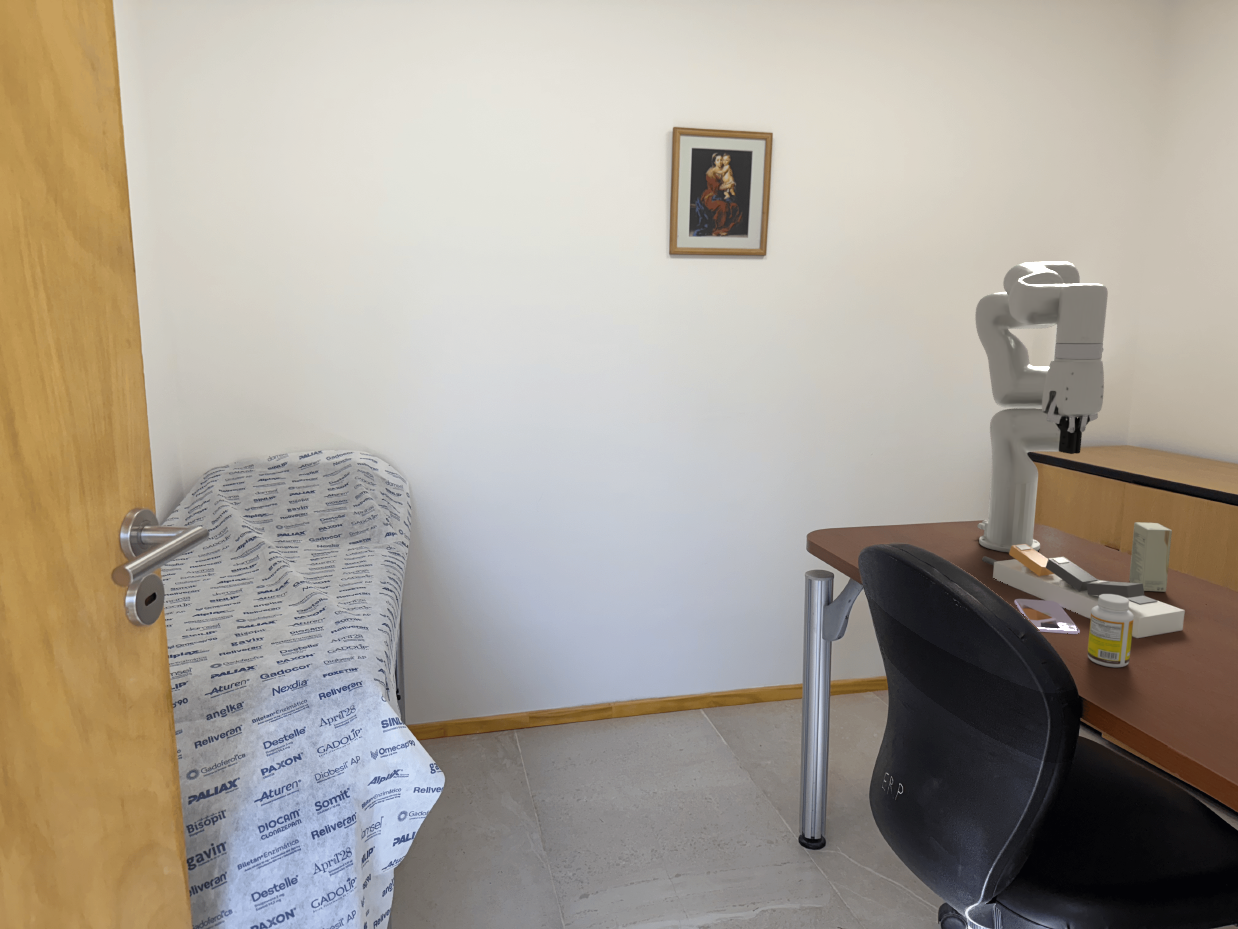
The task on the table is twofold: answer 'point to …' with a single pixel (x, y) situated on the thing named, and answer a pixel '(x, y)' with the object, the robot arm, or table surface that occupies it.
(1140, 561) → the skincare box
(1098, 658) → the supplement bottle
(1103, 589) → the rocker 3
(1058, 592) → the power strip
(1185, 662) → the table surface
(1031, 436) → the robot arm
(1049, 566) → the block
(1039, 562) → the rocker
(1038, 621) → the mobile phone
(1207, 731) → the table surface
